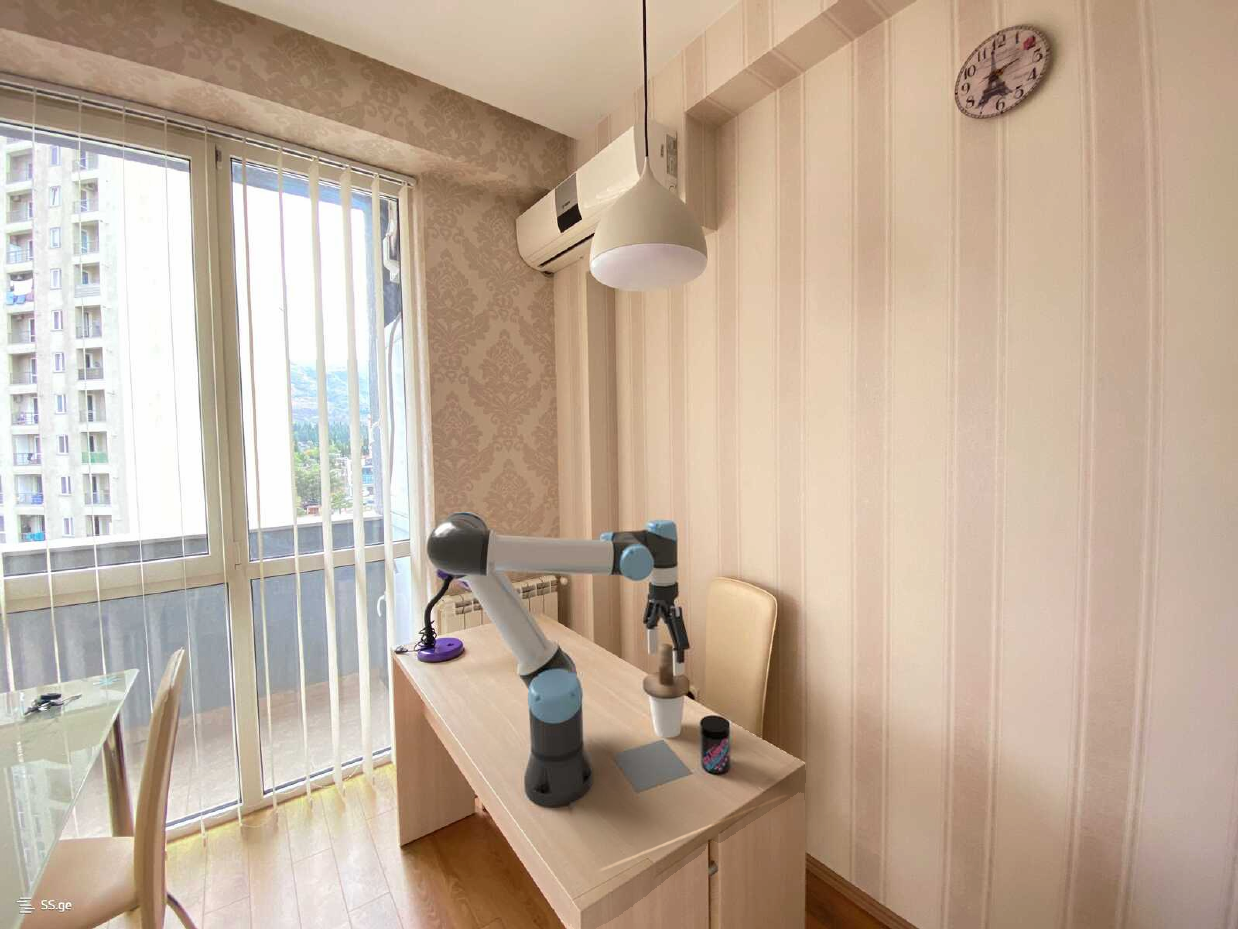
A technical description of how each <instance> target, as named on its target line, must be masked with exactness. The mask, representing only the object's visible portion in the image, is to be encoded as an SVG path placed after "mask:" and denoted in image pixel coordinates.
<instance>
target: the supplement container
mask: <svg viewBox="0 0 1238 929" xmlns="http://www.w3.org/2000/svg"><path fill="white" fill-rule="evenodd" d="M699 726H700V727H699V731H700V763H701V764H700V765H701V767H702V769H703V771H705V772H706V773H708V774H710V775H716V776H721V775H725V774H727V773H728V772H729V771H730V769H731V724H730V721H729V720H728V719H726V718H725V717H723V716H720V715H712V714H711V715H707V716H704V717H702V718H701V720H700V721H699Z"/></svg>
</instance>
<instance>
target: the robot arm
mask: <svg viewBox="0 0 1238 929" xmlns="http://www.w3.org/2000/svg"><path fill="white" fill-rule="evenodd" d="M677 531H678V530H677V524H676V523H675V521H673V520H669V519H654V520H649V521H648V522H647V524H646V528H645V529H641V530H629V531H628V530H625V531H614V530H613V531H611V532H605V533H604V532H603V533H601V535H600V538H599V539H582V538H581V539H579V538H562V537H560V538H559V537H542V536H541V537H540V536H539V537H538V536H522V535H521V536H519V535H503V534H501V535H499V534H497V533H496V532H495V531H494V530H492V529H488V526H487V524H486V522H485V521H484V520H483V519H482V518H481V517H480V516H478V515H477V514H475V513H472V512H467V511H460V512H456V513H451V514H450V515H447V516H446V517H445V518H443V519H442V520H441V521H440V523H439V524H438V525H437V526H436V527H435V528H434V529H433V530H432V531H431V533H430V535H429V537H428V539H427V542H426V553H427V556H428V559H429V560H430V563H431V564H432V565H433V566H434V567H435V568H436V569H437V570H439V571H441V572H443V573H446V574H449V575H453V577H454V578H455V580H456V581H460V582H464V583H466V584H467V586H468V587H469V589H470V590H471V592H472V593H473V595H474V597H475V598H476V600H477V601H478V603H479V604H480V606H481V607H482V609H483V611H484V612H485V613H486V615H487V616H488V618H489V619H490V621H491V622H492V624H493V626H494V627H495V628H496V630H497V631H498V633H499V635H500V636H501V638H502V639H503V641H504V643H505V645H507V647H508V648H509V650H510V651H511V652H512V655H513V656H514V657H515V659H516V660H517V662H518V664H517V667H516V672H517V674H518V676H519V678H520V679H521V681H522V682H523V684H524V685H525V687H526V688H527V689H528V693H527V704H528V715H529V734H530V737H529V739H530V755H529V758H528V761H527V765H526V769H525V772H524V777H523V779H524V780H523V781H524V783H523V784H524V792H525V794H526V796H527V798H528V799H529V800H531V802H533V803H534V804H537V805H538V806H543V807H548V808H558V807H566V806H568V805H569V806H570V805H571V804H573V803H575V802H577V801H578V800H580V799H583V797H584V796H586V794H587V793H588V792H589V791H590V789H591V787H592V785H593V780H594V778H593V777H594V776H593V775H594V774H593V766H592V764H591V761H590V759H589V756H588V753H587V751H586V748H585V746H584V745H585V744H584V721H583V698H584V697H583V696H584V694H583V688H582V684H581V681H580V679H579V677H578V676H577V675H578V673H577V669H576V668H577V667H576V665H575V662H574V660H573V659H572V658H571V656H570V655H569V654H568V653H567V652H566V651H564V650H563V649H562V647H561V646H560V645H559V643H558V642H557V641H556V640H549V639H548V638H547V636H546V635H545V633H544V632H543V630H542V628H541V627H540V626H539V623H538V622H537V620H536V619H535V617H534V615H533V614H532V612H530V610H529V608H528V607H527V604H526V603H525V602H524V601H523V599H522V597H521V595H520V594H519V592H518V591H517V589H516V587H515V586H514V585H513V584H514V583H512V581H511V580H510V578H509V577H508V574H507V573H506V572H511V573H512V572H514V573H517V572H518V573H520V572H521V573H542V574H543V573H544V574H545V573H546V574H549V573H550V574H569V575H570V574H571V575H575V574H577V575H596V576H597V575H599V576H600V575H601V576H608V575H609V576H623V577H625V579H628V580H631V581H634V582H640V581H643V580H645V579H646V578H648V581H649V583H648V593H647V596H646V597H647V602H646V606H645V610H644V614H643V619H642V623H643V625H645V627H646V629H647V650H648V651H647V652H648V653H647V654H648V655H653V654H657V653H658V646H659V628H658V627H659V626H658V624H659V621H660V620H661V619H662V621H663V623H664V624H666V627H667V629H668V632H669V636H670V638H671V641H672V643H673V646H674V647H673V648H672V650H673V673H674V676H678V675H681V674H682V675H685V674H686V672H685V670H686V669H685V662H686V660H685V651H686V650H689V649H690V648H691V646H690V643H689V642H690V641H689V637H688V633H687V629H686V626H685V622H684V617H683V608H682V607H681V606H676V605H675V600H676V599H677V598H678V597H679V596H680V595H679V593H680V592H679V581H678V580H679V565H678V563H679V562H678V540H679V539H678V532H677Z"/></svg>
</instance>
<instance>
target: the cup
mask: <svg viewBox="0 0 1238 929" xmlns="http://www.w3.org/2000/svg"><path fill="white" fill-rule="evenodd" d="M648 701H649V706H650V712H651V717H652V723H653V730H654V733H655V734H656V735H657V736H658V737H660V738H665V739H672V738H676V737H678V736H679V735H680V733H681V730H682V729H681V728H682V721H683V714H684V712H683V711H684V706H685V705H684V704H685V695H684V696H682V697H679V698H674V699H661V698H656V697H653V696H650V695H649V694H648Z"/></svg>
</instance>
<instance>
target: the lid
mask: <svg viewBox="0 0 1238 929" xmlns="http://www.w3.org/2000/svg"><path fill="white" fill-rule="evenodd" d="M672 649H673V646H672V644H669V643H663V644H658V654H657V655H658V671H655V672H652V673H649V674H648V675H646V676H645V677H644V679H643V680H642V689H643V691H644V692H645V693H646V694H647V695H648V696H649V695H650V696H653V697H656V698H661V699H674V698H679V697H682V696H684V697H685V696H686V695H687V694H688V693H689V692H690V689H691V682H690V679H689V678H688V677H687V676H686V675H685V674H681V675H678V676H674V673H673V650H672Z"/></svg>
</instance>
